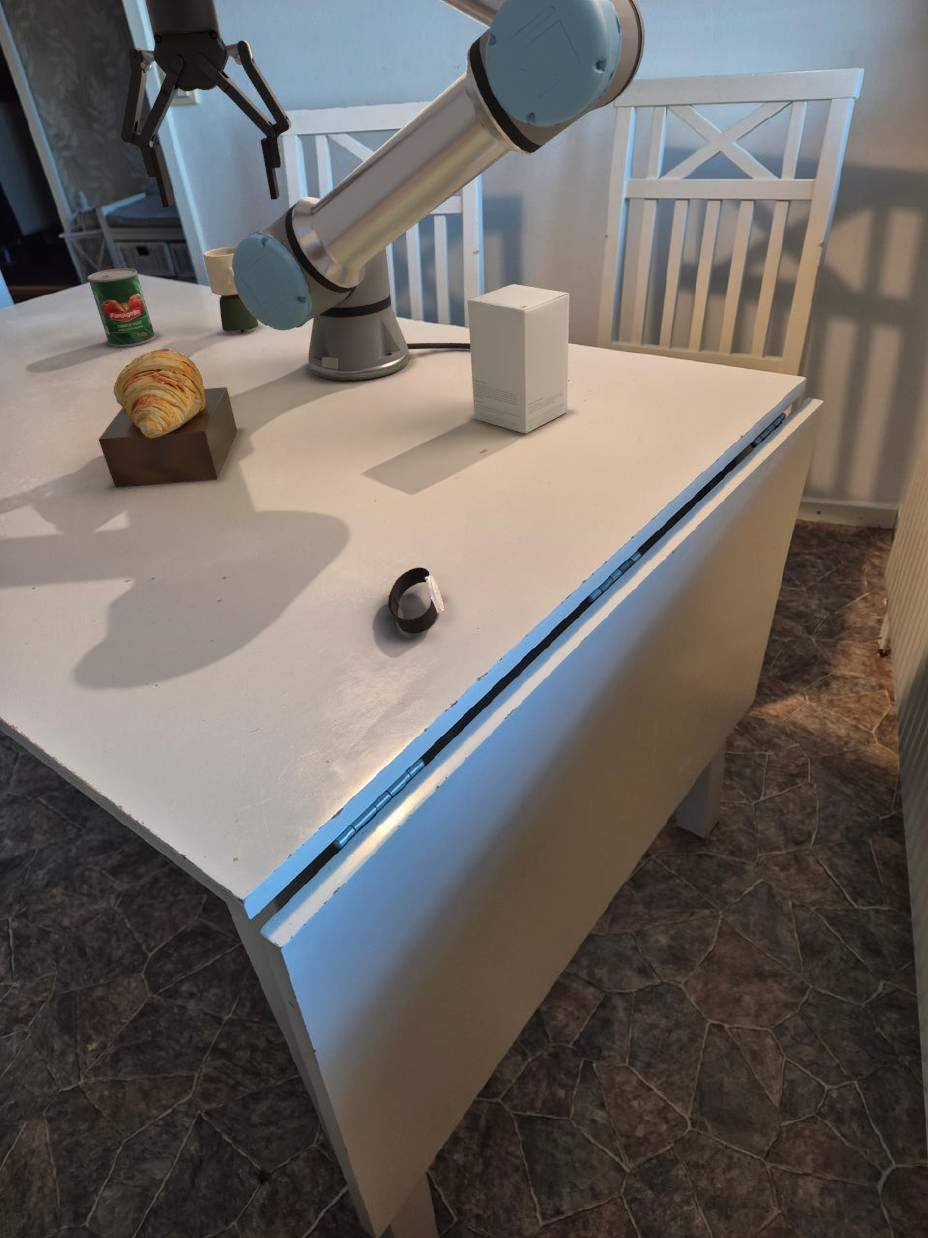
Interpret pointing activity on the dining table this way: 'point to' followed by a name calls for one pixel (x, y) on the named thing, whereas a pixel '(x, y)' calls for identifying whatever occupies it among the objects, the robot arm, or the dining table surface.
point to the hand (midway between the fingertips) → (222, 201)
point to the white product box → (519, 356)
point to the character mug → (227, 290)
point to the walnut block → (172, 446)
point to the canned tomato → (122, 307)
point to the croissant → (160, 391)
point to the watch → (404, 584)
